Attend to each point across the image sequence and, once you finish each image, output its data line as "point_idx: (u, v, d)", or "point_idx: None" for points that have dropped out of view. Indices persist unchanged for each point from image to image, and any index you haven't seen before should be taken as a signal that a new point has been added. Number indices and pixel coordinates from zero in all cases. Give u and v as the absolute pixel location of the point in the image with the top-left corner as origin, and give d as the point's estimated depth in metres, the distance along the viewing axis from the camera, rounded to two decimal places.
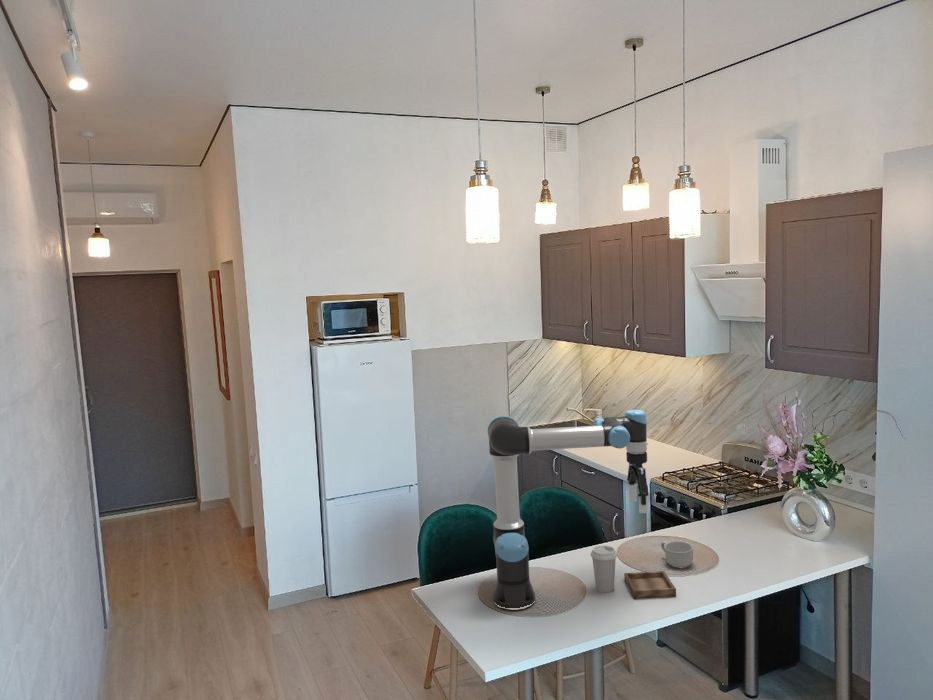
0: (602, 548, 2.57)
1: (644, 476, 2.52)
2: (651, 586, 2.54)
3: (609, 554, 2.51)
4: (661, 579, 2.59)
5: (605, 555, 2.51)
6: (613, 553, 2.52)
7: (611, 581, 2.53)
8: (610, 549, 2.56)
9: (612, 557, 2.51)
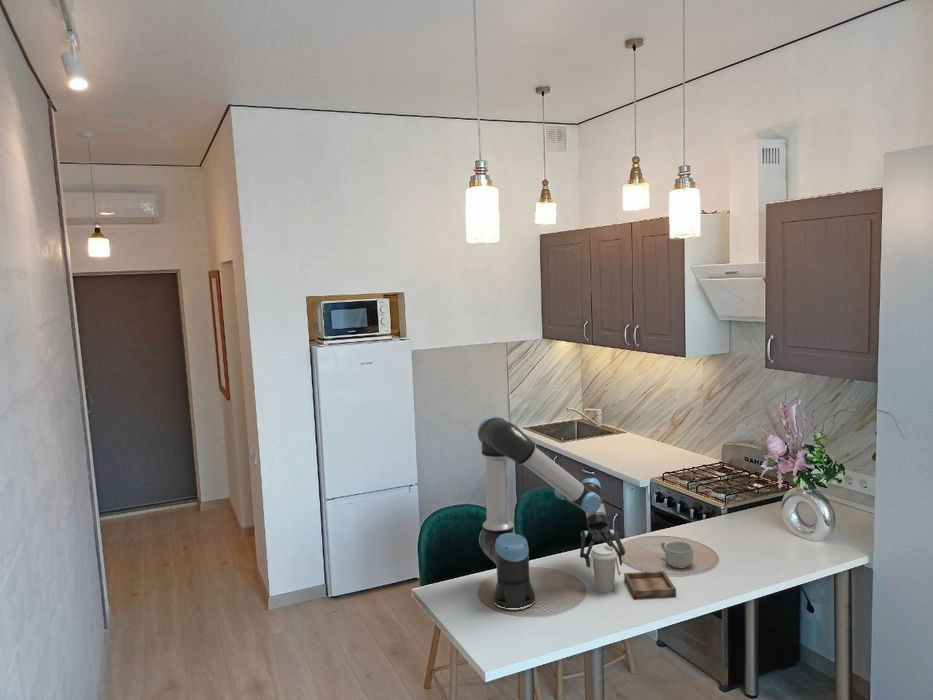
0: (602, 548, 2.57)
1: None
2: (651, 586, 2.54)
3: (609, 554, 2.51)
4: (661, 579, 2.59)
5: (605, 555, 2.51)
6: (613, 553, 2.52)
7: (611, 581, 2.53)
8: (610, 549, 2.56)
9: (612, 557, 2.51)
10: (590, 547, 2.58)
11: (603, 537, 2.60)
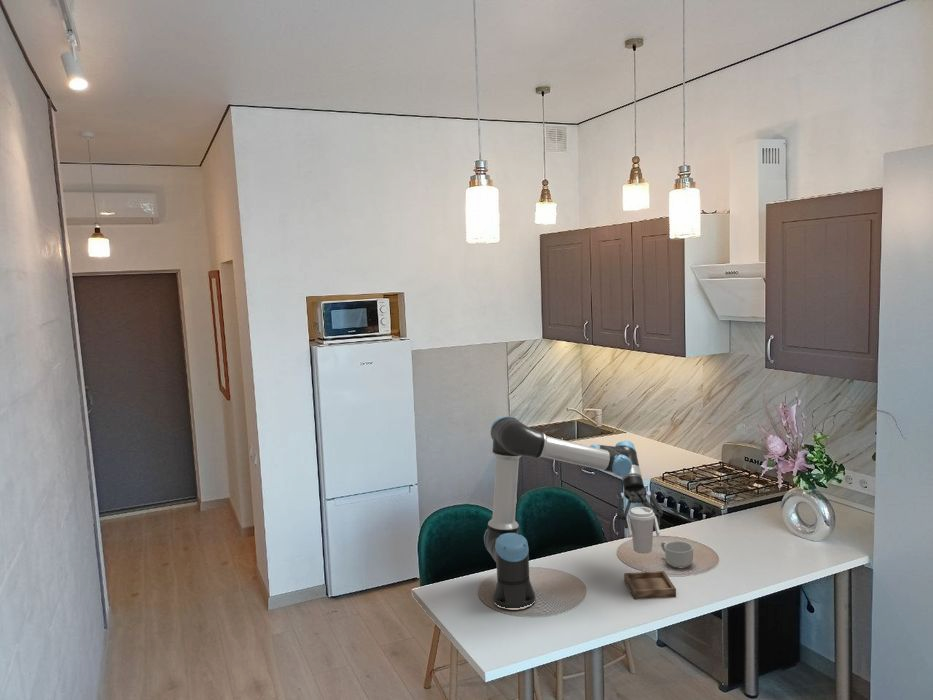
0: (640, 509, 2.54)
1: None
2: (651, 586, 2.54)
3: (648, 514, 2.48)
4: (661, 579, 2.59)
5: (644, 515, 2.48)
6: (652, 514, 2.49)
7: (650, 542, 2.51)
8: (648, 510, 2.54)
9: (651, 517, 2.48)
10: (627, 508, 2.55)
11: (640, 499, 2.57)
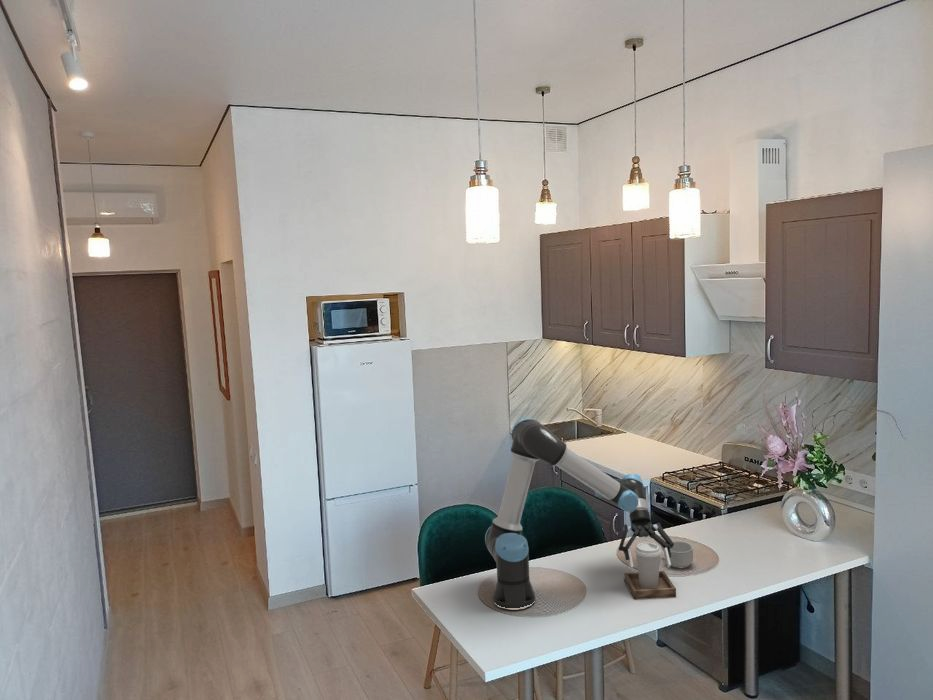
0: (646, 545, 2.55)
1: None
2: None
3: (654, 551, 2.49)
4: (661, 579, 2.59)
5: (650, 552, 2.49)
6: (658, 550, 2.50)
7: (656, 579, 2.51)
8: (654, 546, 2.54)
9: (657, 554, 2.49)
10: (630, 541, 2.56)
11: (647, 533, 2.58)
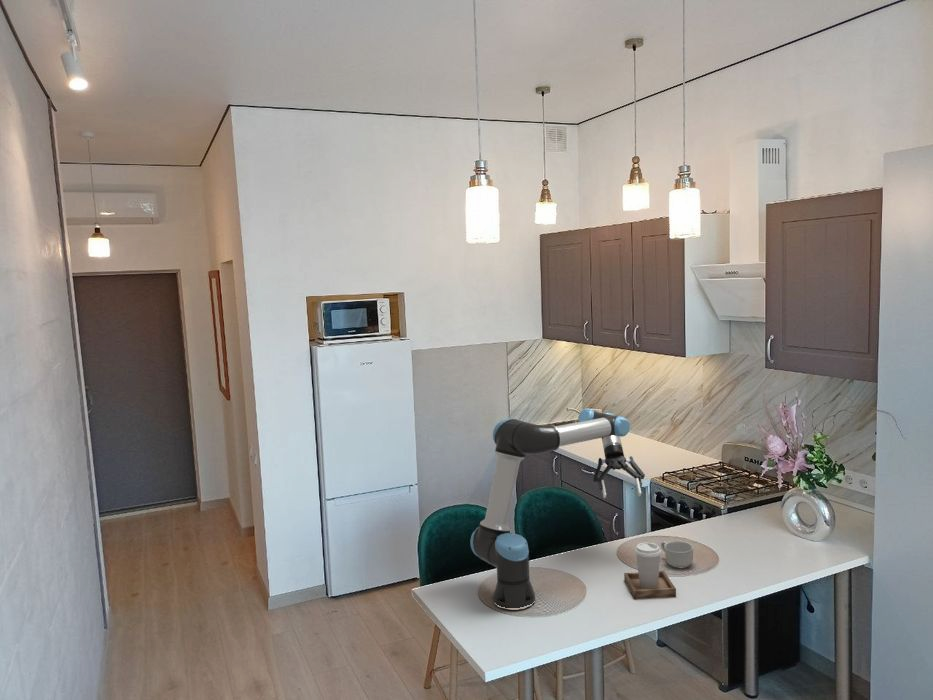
0: (646, 545, 2.55)
1: None
2: None
3: (654, 551, 2.49)
4: (661, 579, 2.59)
5: (650, 552, 2.49)
6: (658, 550, 2.50)
7: (656, 579, 2.51)
8: (654, 546, 2.54)
9: (657, 554, 2.49)
10: (604, 472, 2.74)
11: (620, 465, 2.76)
